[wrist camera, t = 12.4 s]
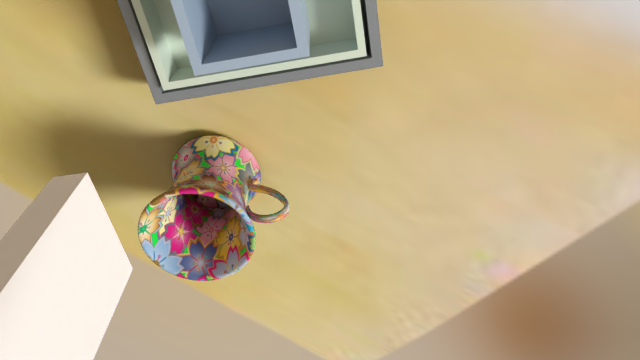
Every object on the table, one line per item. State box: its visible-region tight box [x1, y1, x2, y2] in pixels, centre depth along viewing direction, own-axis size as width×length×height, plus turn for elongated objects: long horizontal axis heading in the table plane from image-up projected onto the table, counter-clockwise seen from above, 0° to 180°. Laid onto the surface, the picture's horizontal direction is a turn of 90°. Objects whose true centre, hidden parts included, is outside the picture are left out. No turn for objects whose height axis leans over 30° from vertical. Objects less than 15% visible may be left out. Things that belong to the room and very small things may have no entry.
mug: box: [138, 136, 289, 281], centre depth 44 cm, size 12×9×11 cm
